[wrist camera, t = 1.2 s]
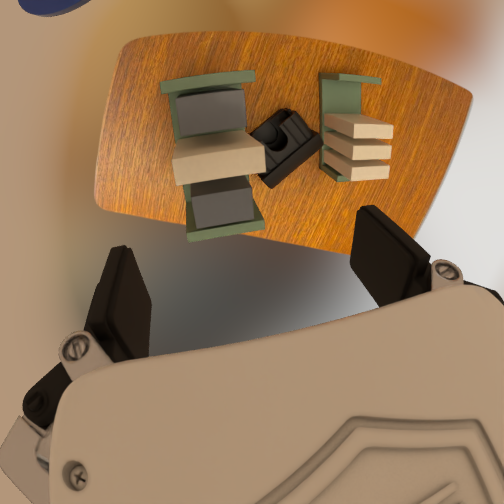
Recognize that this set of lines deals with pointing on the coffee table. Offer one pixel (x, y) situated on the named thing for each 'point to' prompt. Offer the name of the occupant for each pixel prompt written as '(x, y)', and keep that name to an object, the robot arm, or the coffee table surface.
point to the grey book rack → (210, 122)
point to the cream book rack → (350, 131)
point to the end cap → (285, 144)
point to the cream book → (217, 157)
